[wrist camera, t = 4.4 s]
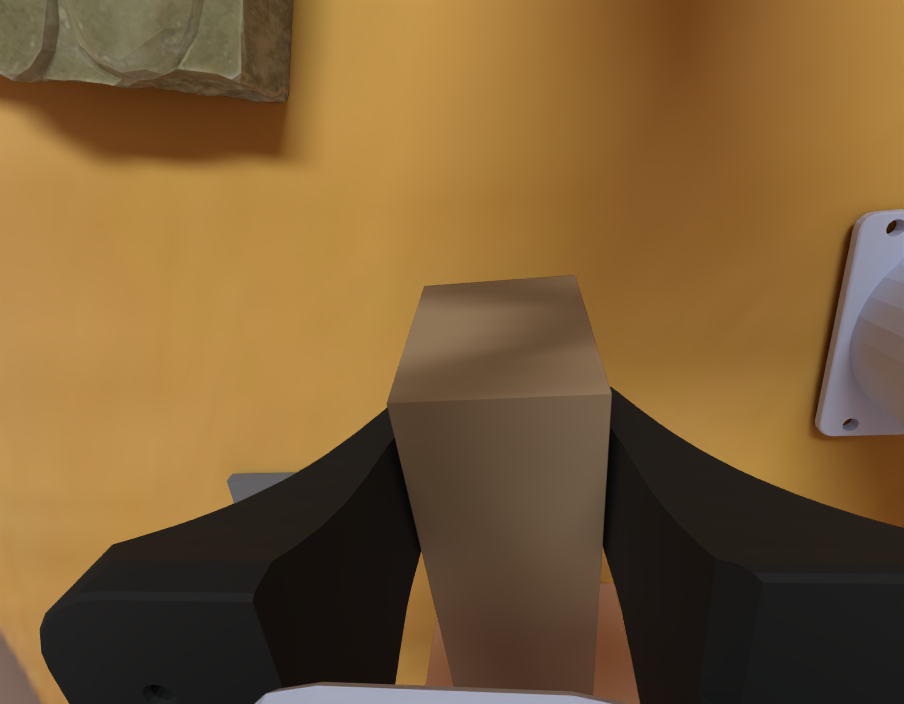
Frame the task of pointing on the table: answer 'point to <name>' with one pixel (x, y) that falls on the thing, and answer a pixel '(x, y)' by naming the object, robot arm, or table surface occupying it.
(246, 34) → the decorative tile
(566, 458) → the brown wooden plank
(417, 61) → the table surface
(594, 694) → the tile
